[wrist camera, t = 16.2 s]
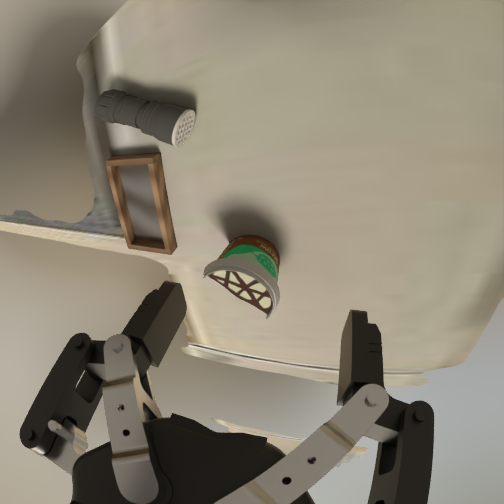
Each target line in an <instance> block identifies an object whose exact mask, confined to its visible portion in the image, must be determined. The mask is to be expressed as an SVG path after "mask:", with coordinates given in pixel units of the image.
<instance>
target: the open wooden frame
mask: <svg viewBox="0 0 504 504" xmlns="http://www.w3.org/2000/svg"><path fill="white" fill-rule="evenodd" d="M105 162H106V167H107V171H108V176H109V180H110V184H111V188H112V192H113V196H114V200H115V204H116V208H117V212H118V215H119V219H120V222H121V226H122V229H123V233H124V236H125V239H126V243H127V246H128V248H129V249H136V250H142V251H149V252H156V253H162V254H169V255H172V253H173V252H174V251H175V249H176V248H177V243H176V238H175V234H174V229H173V223H172V218H171V213H170V208H169V202H168V196H167V191H166V185H165V179H164V172H163V166H162V159H161V153H149V154H134V155H121V156H114V157H112V158H110V159H108V160H106V161H105Z"/></svg>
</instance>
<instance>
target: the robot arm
mask: <svg viewBox="0 0 504 504" xmlns="http://www.w3.org/2000/svg"><path fill="white" fill-rule="evenodd" d="M186 309H187V306H186V301H185V297H184V294H183V290H182V286H181V284H180V283H175V282H170V281H165V282H164V283H163V284H162V286H161V287H160V288H159V290H157V289H155V290H153V291H152V292H151V293H149V294H148V295H147V296H146V297H145V299H144V300H143V302H142V304H141V305H140V306H139V307H138V310H137V311H136V312H135V313H134V315H133V316H132V318H131V319H130V321H129V322H128V324H127V325H126V327H125V328H124V330H123V332H122V333H121V334H116V335H113V336H111V337H110V338H108V339H107V341H96V340H91V338H90V337H89V335H87V334H86V333H78V334H76V335H74V336H73V337H72V338H71V339H70V340H69V342H68V343H67V345H66V347H65V348H64V350H63V351H62V353H61V355H60V356H59V358H58V360H57V361H56V363H55V365H54V366H53V368H52V370H51V371H50V373H49V375H48V377H47V378H46V380H45V382H44V384H43V385H42V387H41V389H40V391H39V393H38V395H37V397H36V398H35V400H34V402H33V404H32V406H31V408H30V410H29V412H28V414H27V416H26V418H25V421H24V422H23V424H22V427H21V429H20V439H21V442H22V444H23V445H24V446H25V447H27V448H29V449H31V450H32V451H34V452H36V453H37V454H38V455H40V456H42V457H44V458H46V459H48V460H50V461H52V462H53V463H55V464H56V465H58V466H59V467H61V468H62V469H63V470H65V471H67V472H68V473H70V474H71V475H72V482H73V495H72V500H71V503H70V504H315V503H314V501H313V500H312V498H311V496H310V495H309V493H308V491H307V490H308V489H309V488H310V487H312V486H313V485H314V484H315V483H316V482H317V481H319V480H320V479H321V478H322V477H323V476H324V475H326V474H327V473H328V472H329V471H330V470H331V469H332V468H333V467H334V466H335V465H336V464H337V463H338V462H339V461H340V460H341V459H342V458H343V457H345V455H346V454H347V453H348V452H349V451H350V450H351V449H352V448H353V447H354V445H355V444H356V442H358V441H359V439H360V438H361V437H362V436H366V437H368V438H371V439H374V440H377V441H379V444H378V451H377V458H376V464H375V470H374V475H373V481H372V486H371V491H370V496H369V500H368V504H427V501H428V495H429V488H430V480H431V471H432V459H433V442H434V412H433V409H432V407H431V406H430V405H429V404H428V403H426V402H424V401H415V402H413V403H411V404H407V403H404V402H402V401H399V400H396V399H394V398H392V397H391V396H390V395H389V394H388V393H387V391H386V390H385V387H384V381H383V357H382V346H381V344H382V342H381V333H380V331H379V329H378V327H377V325H376V324H370V323H368V318H367V312H366V311H359V310H350V312H349V315H348V318H347V321H346V324H345V327H344V329H343V333H342V339H341V354H340V370H339V384H338V396H337V405H342V406H343V407H342V408H341V410H339V411H338V412H337V413H336V414H335V415H334V416H333V417H332V418H331V419H330V420H329V421H328V422H326V423H325V424H323V425H322V426H321V427H320V428H318V429H317V430H316V431H315V432H314V433H313V434H312V435H310V436H309V437H308V438H307V439H306V440H305V441H304V442H302V443H301V444H300V445H299V446H298V447H296V448H295V449H294V450H293V451H291V452H290V453H289V454H288V455H285V454H284V453H283V452H282V451H281V450H280V449H278V448H277V447H275V446H274V445H272V444H270V443H268V442H267V438H266V437H261V436H255V435H251V434H246V433H217V432H214V431H212V430H210V429H208V428H207V427H205V426H203V425H202V424H200V423H198V422H196V421H195V420H192V419H189V418H186V417H183V416H180V415H177V414H174V413H172V415H171V417H170V418H162V415H161V412H160V410H159V408H158V406H157V404H156V401H155V397H154V393H153V389H152V385H151V380H150V376H149V372H148V368H149V366H150V365H152V366H155V367H158V366H159V364H160V362H161V361H162V359H163V357H164V355H165V353H166V351H167V349H168V347H169V345H170V343H171V341H172V339H173V337H174V335H175V334H176V332H177V330H178V328H179V326H180V324H181V322H182V320H183V319H184V317H185V314H186ZM84 370H85V372H84V374H83V377H82V378H81V380H80V382H79V384H78V385H77V388H76V384H77V382H78V381H79V379H80V377H81V375H82V373H83V371H84ZM102 395H103V400H104V407H105V413H106V420H107V426H108V432H109V436H110V442H107V443H105V444H103V445H101V446H99V447H97V448H95V449H93V450H90V451H88V452H85V449H87V448H88V443H87V438H86V435H85V432H86V429H87V427H88V425H89V423H90V420H91V418H92V416H93V414H94V412H95V410H96V408H97V406H98V403H99V401H100V399H101V397H102Z"/></svg>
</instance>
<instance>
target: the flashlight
mask: <svg viewBox="0 0 504 504" xmlns="http://www.w3.org/2000/svg"><path fill="white" fill-rule="evenodd" d="M95 113H96V115H97V117H99V119H100V120H103V121H106V122H109V123H120V124H123V125H129V126H132V127H135V128H138V129H140V130H141V131H142V132H143V133H145V134H148V135H151V136H154V137H155V138H157V139H158V140H160V141H162V142H165V143H168V144H171V145H173V146H176V147H180V146H182V145H183V144H184V143H185V142H186V140H187V139H188V137H189V135H190V134H191V131H192V129H193V126H194V122H195V112H194V111H193V110H190V109H187V108H184V107H181V106H177V105H172V104H164V103H161V102H158V101H153V102H151V103H150V102H148V101H145V100H141V99H137V98H136V97H133V96H130V95H127V94H126V93H125V92H123V91H118V90H113V89H112V90H108V91H105V92H103V93H102V94H101V95H100V97H99V98H98V100H97V102H96V106H95Z"/></svg>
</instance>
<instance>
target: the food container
mask: <svg viewBox="0 0 504 504" xmlns="http://www.w3.org/2000/svg"><path fill="white" fill-rule="evenodd" d="M279 264H280V260H279V254H278V252H277V249H276V248H275V247H274V246H273V244H272V243H270V242H269V241H268V240H266V239H264V238H262V237H259V236H255V235H243V236H240V237H237V238H235V239H234V240H232V241H231V243H230V244H229V245H228V246H227V247H226V249H225V250H224V251H223V253H222V254H221V255H220V256H219V258H218V259H217V260H215V261H213V262H211V263H210V264H208V265H207V266H206V267H205V270H204V274H203V275H204V278H205V277H206V276H209V277H210V278H212V279H214V280H215V281H217V282H218V283H220V284H221V285H223V286H224V287H225V288H226V289H228V290H229V291H230V292H231V293H232V294H234V295H235V296H236V297H238V298H240V299H241V300H244V301H246V302H248V303H250V304H252V305H254V306H255V307H257V308H258V309H260V310H261V311H263V312H265V313H266V314H267V317H266V320H267V319H268V318H269V317H270V316H271V315H272V314H273V312H274V311H275V309H276V307H277V305H278V303H279V299H280V291H279V287H278V285H277V281H278V273H279ZM204 278H203V279H204Z"/></svg>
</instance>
